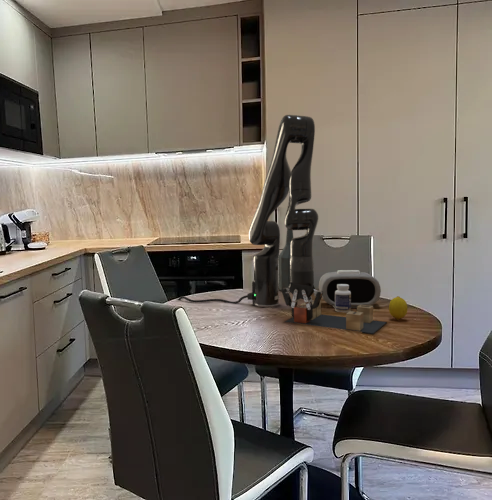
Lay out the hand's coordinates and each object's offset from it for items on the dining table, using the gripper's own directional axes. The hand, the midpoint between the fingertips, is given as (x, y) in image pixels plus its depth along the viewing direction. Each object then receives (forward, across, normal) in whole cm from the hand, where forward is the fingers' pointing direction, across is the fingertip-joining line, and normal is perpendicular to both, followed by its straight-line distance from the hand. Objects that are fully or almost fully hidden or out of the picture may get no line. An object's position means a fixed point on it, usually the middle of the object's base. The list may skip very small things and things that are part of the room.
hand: (302, 319), depth 163 cm
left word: (+1, 0, -8) cm, 8 cm away
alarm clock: (+1, -5, -33) cm, 33 cm away
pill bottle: (+1, -6, -23) cm, 24 cm away
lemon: (+1, -25, -19) cm, 31 cm away
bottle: (+1, +27, -53) cm, 60 cm away
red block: (+1, 0, 0) cm, 1 cm away
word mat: (+1, -9, -5) cm, 10 cm away
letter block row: (+1, -17, -5) cm, 18 cm away
